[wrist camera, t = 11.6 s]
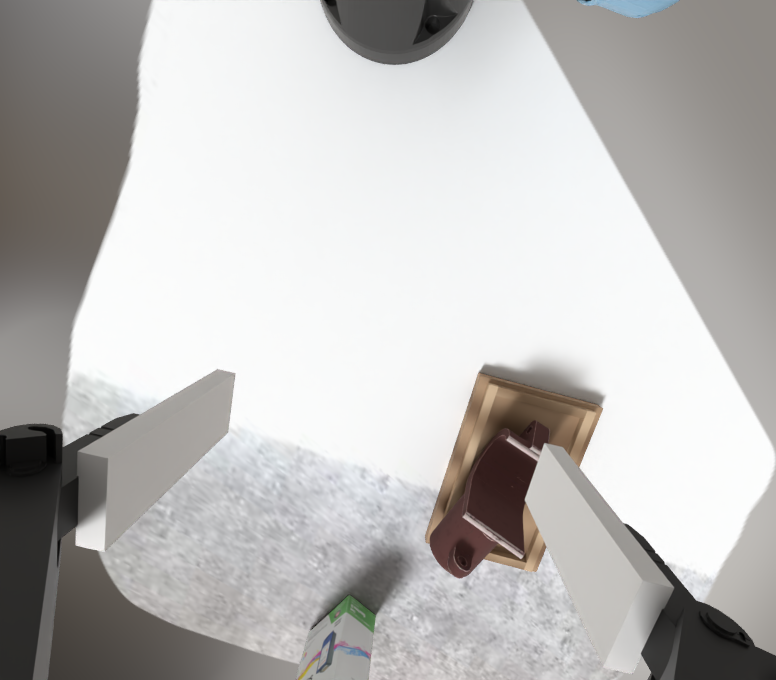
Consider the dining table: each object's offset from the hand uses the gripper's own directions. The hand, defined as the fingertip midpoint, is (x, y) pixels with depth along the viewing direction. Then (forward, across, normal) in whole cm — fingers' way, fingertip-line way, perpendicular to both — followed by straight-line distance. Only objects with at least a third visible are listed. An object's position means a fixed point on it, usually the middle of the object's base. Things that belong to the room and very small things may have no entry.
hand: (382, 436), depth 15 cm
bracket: (+25, +12, -15) cm, 31 cm away
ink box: (+26, +1, -41) cm, 49 cm away
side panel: (+26, +16, -15) cm, 34 cm away
